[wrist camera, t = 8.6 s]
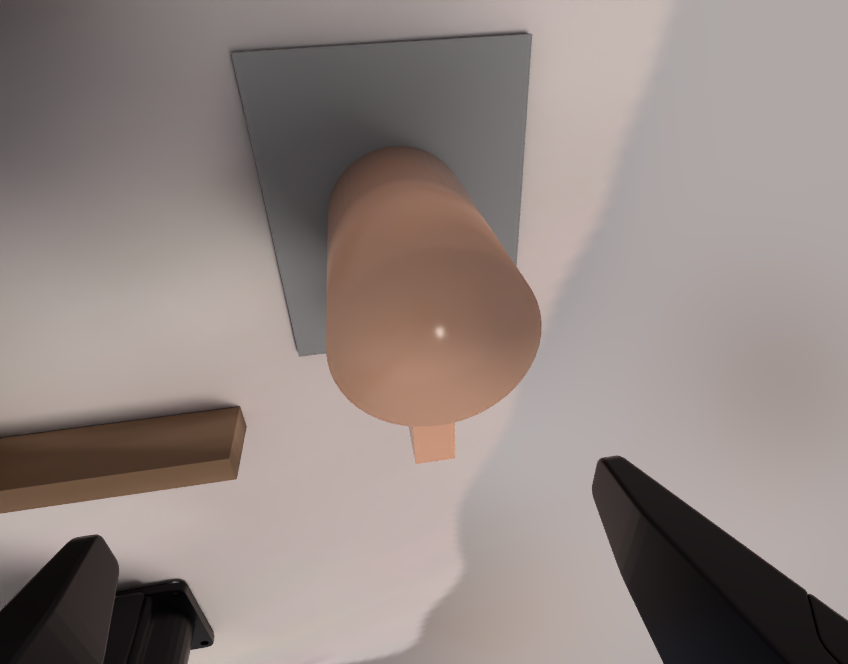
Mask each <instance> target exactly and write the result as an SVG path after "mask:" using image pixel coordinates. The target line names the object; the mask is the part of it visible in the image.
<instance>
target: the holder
mask: <svg viewBox="0 0 848 664" xmlns="http://www.w3.org/2000/svg"><path fill="white" fill-rule="evenodd" d="M245 432H246V423H245V420H244V417H243V414H242V411H241V408H240V407H234V408H226V409H219V410H211V411H203V412H196V413H188V414H181V415H173V416H165V417H158V418H150V419H142V420H135V421H127V422H120V423H112V424H104V425H97V426H89V427H81V428H74V429H66V430H59V431H51V432H43V433H36V434H28V435H20V436H13V437H5V438H0V513H7V512H14V511H21V510H28V509H34V508H41V507H48V506H55V505H62V504H69V503H76V502H83V501H90V500H96V499H103V498H110V497H117V496H124V495H131V494H138V493H145V492H152V491H158V490H165V489H172V488H179V487H186V486H193V485H200V484H207V483H214V482H220V481H227V480H234V479H237V475H238V469H239V464H240V459H241V453H242V448H243V443H244V437H245Z"/></svg>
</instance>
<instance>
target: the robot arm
mask: <svg viewBox="0 0 848 664" xmlns="http://www.w3.org/2000/svg"><path fill="white" fill-rule="evenodd" d="M592 494H593V498H594V501H595V504H596V506H597V509H598V512H599V515H600V518H601V521H602V523H603V526H604V529H605V532H606V534H607V537H608V540H609V543H610V545H611V548H612V551H613V554H614V557H615V560H616V562H617V565H618V567H619V570H620V573H621V575H622V577H623V580H624V582H625V584H626V586H627V588H628V590H629V593H630V595H631V596H632V599H633V601H634V603H635V605H636V607H637V609H638V611H639V613H640V615H641V617H642V620H643V621H644V624H645V626H646V628H647V630H648V632H649V634H650V636H651V638H652V640H653V642H654V644H655V647H656V648H657V650H658V653H659V655H660V657H661V659H662V661H663V663H664V664H848V620H847V619H845V618H844V617H842V616H841V615H840V614H838V613H837V612H835V611H834V610H832V609H831V608H829V607H828V606H827V605H826V604H824V603H823V602H821V601H820V600H818V599H817V598H816V597H815V596H813V595H811V594H807V592H806V590H805V589H803V588H802V587H800V586H799V585H798V584H797V583H795V582H794V581H792V580H791V579H789V578H788V577H787V576H785V575H784V574H783V573H781V572H780V571H779V570H777V569H776V568H775V567H773V566H772V565H770V564H769V563H767V562H766V561H765V560H764V559H762V558H761V557H759V556H758V555H757V554H755V553H754V552H752V551H751V550H750V549H748V548H747V547H746V546H744V545H743V544H742V543H740V542H739V541H737V540H736V539H735V538H733V537H732V536H730V535H729V534H728V533H726V532H725V531H724V530H722V529H721V528H720V527H718V526H717V525H715V524H714V523H713V522H711V521H710V520H708V519H707V518H706V517H705V516H703V515H702V514H700V513H699V512H698V511H696V510H695V509H693V508H692V507H691V506H689V505H688V504H686V503H685V502H684V501H682V500H681V499H680V498H678V497H677V496H676V495H674V494H673V493H671V492H670V491H669V490H667V489H666V488H665V487H663V486H662V485H660V484H659V483H658V482H656V481H655V480H654V479H652V478H651V477H650V476H648V475H647V474H645V473H644V472H643V471H641V470H640V469H638V468H637V467H636V466H634V465H633V464H632V463H630V462H629V461H627V460H626V459H625V458H623V457H621V456H611V457H604V458H601V459H599V461H598V463H597V466H596V470H595V475H594V480H593V484H592ZM118 576H119V565H118V562H117V559H116V558H115V556H114V555H113V553H112V551H111V550H110V548H109V547H108V545H107V544H106V542H105V540H104V539H103V538H102V537H101V536H99V535H89V536H82V537H77V538H74V539H72V540H70V541H69V542H68V543H67V544H66V545H65V546H64V547H63V548H62V549H61V550H60V551H59V552H58V553H57V554H56V555H55V556H54V557H53V558H52V559H51V560H50V561H49V562H48V563H47V564H46V565H45V566H44V567H43V568H42V569H41V570H40V571H39V572H38V573H37V574H36V575H35V576H34V577H33V578H32V579H31V580H30V581H29V582H28V583H27V584H26V585H25V586H24V587H23V588H22V589H21V590H20V591H19V592H18V593H17V594H16V595H15V596H14V597H13V599H12V600H11V601H10V602H9V603H8V604H7V605H6V606H5V607H4V608H3V609H2V610H1V611H0V664H188V659H189V654H190V650H193V649H198V648H204V647H209V646H211V645H212V644H213V642H214V634H213V632H212V630H211V628H210V626H209V625H208V623H207V621H206V619H205V617H204V615H203V614H202V612H201V610H200V608H199V606H198V605H197V603H196V601H195V599H194V597H193V596H192V594H191V592H190V590H189V588H188V587H187V585H185V584H183V583H171V584H165V585H159V586H153V587H147V588H141V589H135V590H129V591H122V592H116V588H117V582H118Z"/></svg>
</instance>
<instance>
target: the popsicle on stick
mask: <svg viewBox="0 0 848 664" xmlns="http://www.w3.org/2000/svg"><path fill="white" fill-rule="evenodd" d="M540 338H541V315H540V310H539V306H538V303H537V300H536V298H535V296H534V294H533V292H532V290H531V288H530V287H529V285H528V284H527V282H526V281H525V279H524V278H523V276H522V275H521V273H520V272H519V270H518V268H517V267H516V265H515V264H514V262H513V261H512V259H511V258H510V256H509V255H508V253H507V252H506V250H505V249H504V247H503V246H502V244H501V243H500V241H499V240H498V238H497V237H496V235H495V234H494V232H493V231H492V229H491V228H490V226H489V225H488V223H487V222H486V220H485V219H484V217H483V216H482V214H481V213H480V211H479V210H478V208H477V207H476V205H475V204H474V202H473V201H472V199H471V198H470V196H469V195H468V193H467V192H466V190H465V189H464V187H463V186H462V184H461V183H460V181H459V180H458V178H457V177H456V175H455V174H454V173H453V171H452V170H451V169H450V168H449V167H448V166H447V165H446V164H445V163H444V162H443V161H441V160H440V159H439V158H437V157H436V156H434V155H432V154H430V153H428V152H426V151H423V150H420V149H416V148H413V147H404V146H393V147H386V148H381V149H378V150H375V151H372V152H370V153H368V154H365V155H364V156H362V157H360V158H359V159H357V160H356V161H355V162H353V163H352V164H351V165H350V166H349V167H348V168H347V169H346V170H345V171H344V172H343V173H342V175H341V176H340V177H339V179H338V180H337V182H336V184H335V186H334V188H333V190H332V193H331V196H330V199H329V204H328V213H327V302H326V353H327V362H328V365H329V369H330V372H331V374H332V377H333V379H334V381H335V383H336V384H337V386H338V387H339V389H340V391H341V392H342V393H343V394H344V395H345V396H346V397H347V399H348V400H349V401H350V402H352V403H353V404H354V405H355V406H356V407H358V408H359V409H361V410H362V411H364V412H366V413H367V414H369V415H371V416H373V417H375V418H378V419H380V420H383V421H386V422H389V423H394V424H398V425H404V426H409V430H410V436H411V441H412V447H413V452H414V458H415V464H418V463H425V462H432V461H439V460H446V459H452V458H455V422H457V421H461V420H464V419H467V418H469V417H472V416H474V415H477V414H479V413H481V412H483V411H485V410H487V409H488V408H490V407H491V406H493V405H495V404H496V403H498V402H499V401H500V400H501V399H503V398H504V397H505V396H507V395H508V394H509V393H510V392H511V391H512V390H513V389H514V388H515V387H516V386H517V385H518V383H519V382H520V381H521V380H522V379H523V377H524V376H525V374H526V373H527V371H528V370H529V368H530V367H531V365H532V363H533V361H534V358H535V356H536V353H537V350H538V347H539V343H540Z"/></svg>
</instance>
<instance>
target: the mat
mask: <svg viewBox="0 0 848 664" xmlns="http://www.w3.org/2000/svg"><path fill="white" fill-rule="evenodd" d="M531 42H532V34H513V35H497V36H481V37H465V38H449V39H433V40H417V41H400V42H384V43H368V44H352V45H336V46H320V47H304V48H288V49H272V50H256V51H240V52H232V53H231V55H232V60H233V64H234V69H235V73H236V78H237V82H238V87H239V91H240V96H241V100H242V104H243V109H244V113H245V118H246V122H247V127H248V131H249V136H250V140H251V145H252V149H253V153H254V158H255V162H256V167H257V171H258V176H259V180H260V185H261V189H262V194H263V198H264V203H265V207H266V211H267V216H268V220H269V225H270V229H271V234H272V238H273V243H274V247H275V252H276V256H277V260H278V265H279V269H280V274H281V278H282V283H283V287H284V292H285V296H286V301H287V305H288V310H289V314H290V318H291V323H292V327H293V332H294V336H295V341H296V345H297V350H298V354H299V356H308V355H316V354H324V353H326V302H327V213H328V204H329V199H330V196H331V193H332V190H333V188H334V186H335V184H336V182H337V180H338V179H339V177H340V176H341V175H342V173H343V172H344V171H345V170H346V169H347V168H348V167H349V166H350V165H351V164H352V163H353V162H355V161H356V160H357V159H359V158H360V157H362V156H364V155H365V154H368V153H370V152H372V151H375V150H378V149H381V148H386V147H393V146H404V147H413V148H416V149H420V150H423V151H426V152H428V153H430V154H432V155H434V156H436V157H437V158H439V159H440V160H441V161H443V162H444V163H445V164H446V165H447V166H448V167H449V168H450V169H451V170H452V171H453V173H454V174H455V175H456V177H457V178H458V180H459V181H460V183H461V184H462V186H463V187H464V189H465V190H466V192H467V193H468V195H469V196H470V198H471V199H472V201H473V202H474V204H475V205H476V207H477V208H478V210H479V211H480V213H481V214H482V216H483V217H484V219H485V220H486V222H487V223H488V225H489V226H490V228H491V229H492V231H493V232H494V234H495V235H496V237H497V238H498V240H499V241H500V243H501V244H502V246H503V247H504V249H505V250H506V252H507V253H508V255H509V256H510V258H511V259H512V261H513V262H514V264H515V265H516V264H517V250H518V235H519V220H520V205H521V190H522V175H523V161H524V146H525V131H526V116H527V101H528V86H529V72H530V57H531Z"/></svg>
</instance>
